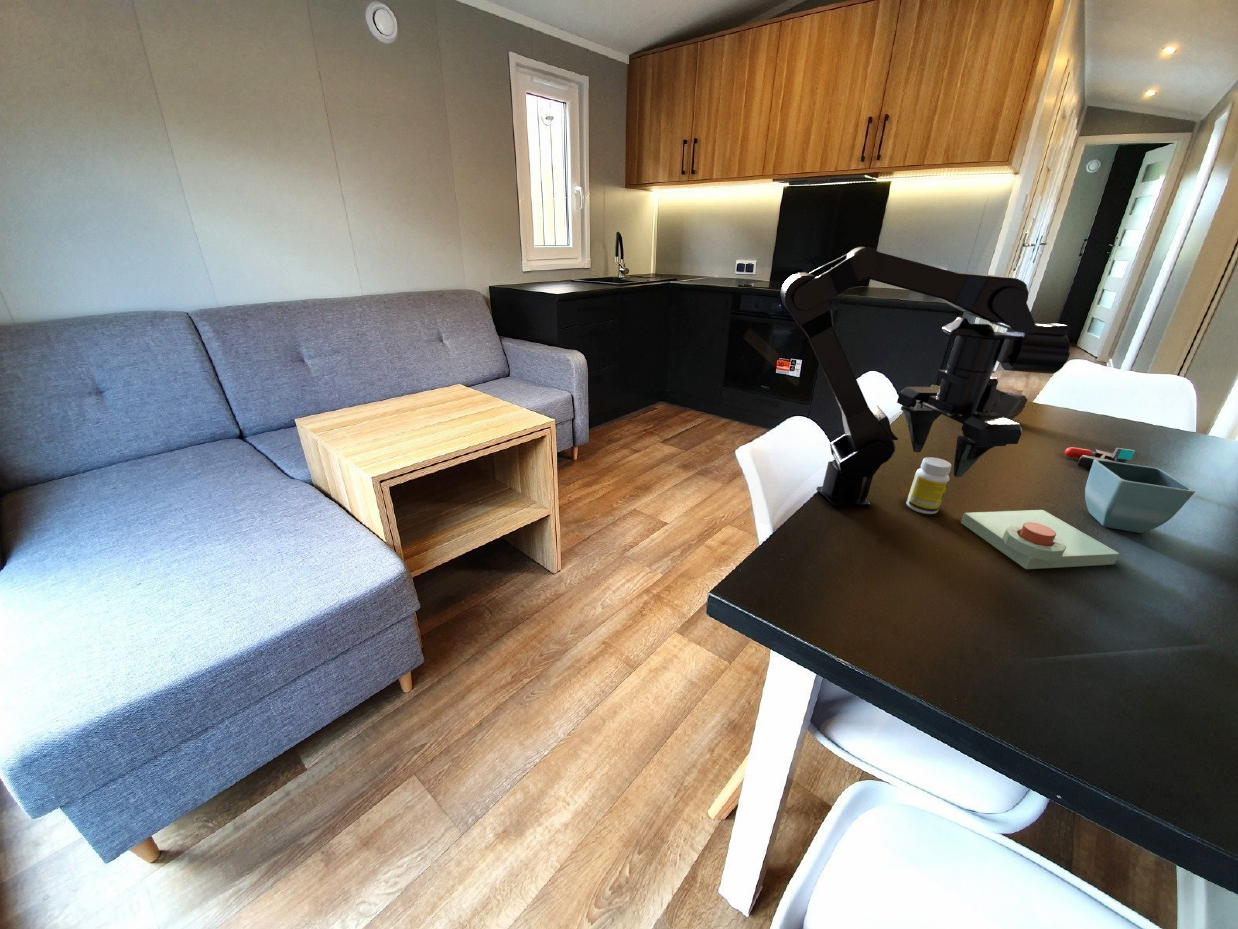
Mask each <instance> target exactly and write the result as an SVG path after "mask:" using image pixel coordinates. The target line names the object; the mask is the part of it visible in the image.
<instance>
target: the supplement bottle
mask: <svg viewBox="0 0 1238 929" xmlns="http://www.w3.org/2000/svg"><path fill="white" fill-rule="evenodd" d="M951 469H952V464H951V462H949V461H947V460H945V459H942V458H939V457H930V456H927V457H924V458H923V459H922V461H921V464H920V467H919V468H918V469H917V470H916V472H915V473H914V477H913V480H912V484H911V486H910V489H909V493H908V496H907V498H906V503H905V504H906V506H907V507H909V508H910V509H911V510H913V511H914V512H917V513H920V514H926V515H933V514H934V515H935V514H937V513H938V512H939V510H940V507H941V504H942V502H943V499H944V496H945V494H946V491H947V488H948V485H949V483H950V476H949V474H950V472H951Z"/></svg>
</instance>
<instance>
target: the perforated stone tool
mask: <svg viewBox="0 0 1238 929" xmlns="http://www.w3.org/2000/svg"><path fill="white" fill-rule="evenodd" d="M1001 391H1002V390H1001ZM1002 392H1004V393H1007V394H1009V395H1011V396H1013V397H1015V398H1017V399H1019V400H1020V402H1019V403H1018V404H1017V406H1016V407H1015V408H1014V410H1013V411H1012V412H1011V414H1010V415H1009V416H1008V418H1007V419H1009V420H1011V419H1015V418H1016V417H1018V416H1019V415H1020V414H1021V413H1022V412H1023V410H1024V408H1026V405H1027V402H1028V400H1029V399H1028V398H1027V397H1026V395H1024V394H1020V393H1019V394H1018V393H1013V392H1009V391H1007V392H1006V391H1002ZM976 415H978V416H1001V415H1000V414H998V413H995V412H990V413H981V412H977V414H976ZM1001 417H1002V416H1001Z"/></svg>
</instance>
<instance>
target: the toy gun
mask: <svg viewBox="0 0 1238 929" xmlns="http://www.w3.org/2000/svg"><path fill="white" fill-rule="evenodd" d="M1135 452H1136V450H1135V449H1129V448H1123V447H1122V448H1121V447H1115V449H1114V451H1113V452H1109V451H1104V450H1100V449H1094V451H1092V450H1091V449H1087V448H1086V449H1085V448H1080V447H1074V446H1071V447H1070V446H1069V447H1066V449H1065V450H1064V454H1065V456H1066V457H1068V458H1074V459H1078V461H1077V463H1076V465H1077V466H1078V467H1081V468H1086V469H1090V470H1091V467H1092V464H1093V461H1094V460H1095V459H1097V460H1105V461H1112V462H1119V463H1126V464H1127V462H1128V461H1131V460H1132V458H1133V456H1134V455H1135Z"/></svg>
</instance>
